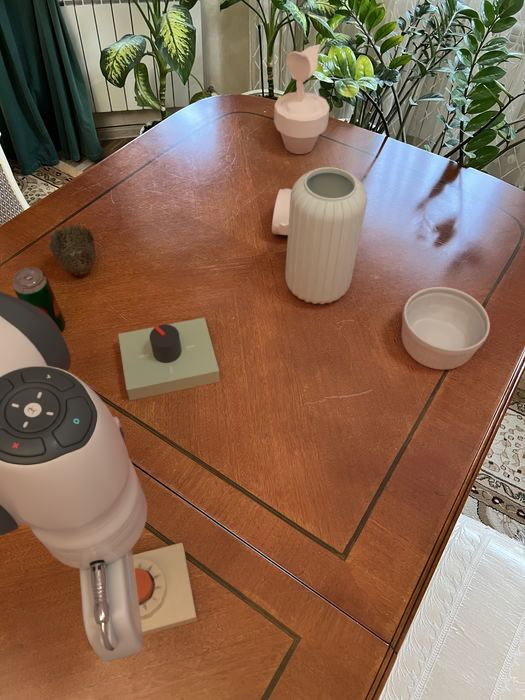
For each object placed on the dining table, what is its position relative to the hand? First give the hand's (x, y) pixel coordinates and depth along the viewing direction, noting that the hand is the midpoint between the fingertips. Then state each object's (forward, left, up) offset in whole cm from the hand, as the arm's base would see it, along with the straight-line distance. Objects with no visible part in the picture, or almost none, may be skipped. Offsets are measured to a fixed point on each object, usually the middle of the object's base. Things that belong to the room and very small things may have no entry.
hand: (122, 561), depth 59 cm
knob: (+9, +34, -11) cm, 37 cm away
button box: (0, 0, -14) cm, 14 cm away
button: (0, 0, -10) cm, 10 cm away
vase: (+37, +44, -14) cm, 59 cm away
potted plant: (+47, +86, -14) cm, 99 cm away
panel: (+9, +34, -14) cm, 38 cm away
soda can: (-9, +46, -14) cm, 49 cm away
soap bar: (+39, +60, -14) cm, 73 cm away
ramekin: (+52, +27, -14) cm, 60 cm away
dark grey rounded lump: (-3, +58, -14) cm, 60 cm away
